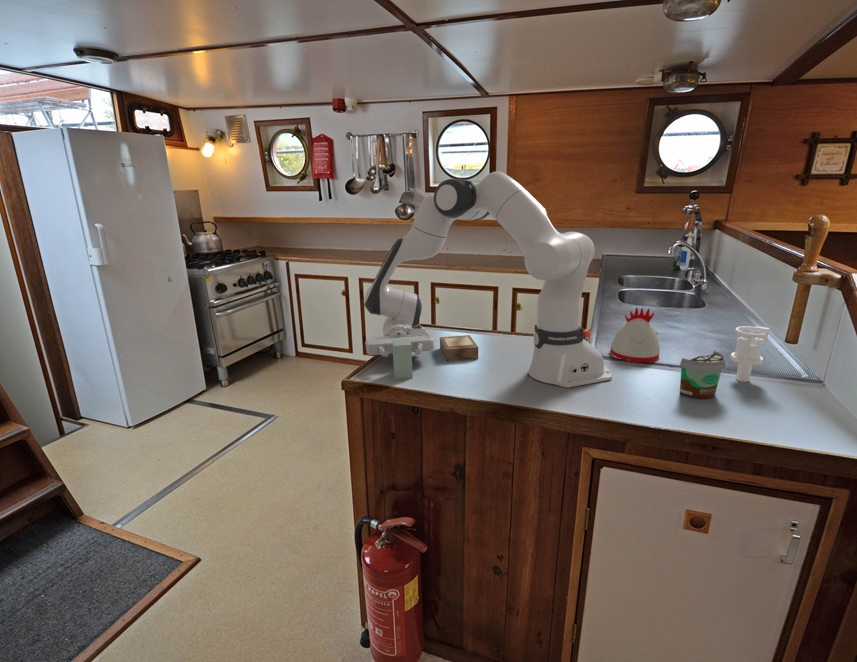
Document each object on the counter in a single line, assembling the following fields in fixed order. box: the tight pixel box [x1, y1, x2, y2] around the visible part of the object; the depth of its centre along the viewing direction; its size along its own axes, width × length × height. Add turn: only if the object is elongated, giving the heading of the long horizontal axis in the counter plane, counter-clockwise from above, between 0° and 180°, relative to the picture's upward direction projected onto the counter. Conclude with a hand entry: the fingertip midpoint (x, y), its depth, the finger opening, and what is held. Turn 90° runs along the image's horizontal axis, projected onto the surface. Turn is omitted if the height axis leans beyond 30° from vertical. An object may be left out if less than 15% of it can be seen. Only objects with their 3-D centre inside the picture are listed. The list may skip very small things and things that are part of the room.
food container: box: [679, 350, 727, 400], centre depth 118 cm, size 12×6×10 cm, turn 114°
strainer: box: [730, 325, 770, 383], centre depth 125 cm, size 7×7×15 cm
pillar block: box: [392, 339, 414, 380], centre depth 135 cm, size 5×5×10 cm
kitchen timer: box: [610, 307, 661, 363], centre depth 145 cm, size 14×14×15 cm
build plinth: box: [439, 334, 479, 362], centre depth 152 cm, size 10×12×4 cm
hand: (401, 353), depth 137 cm, fingers open, 8 cm apart
